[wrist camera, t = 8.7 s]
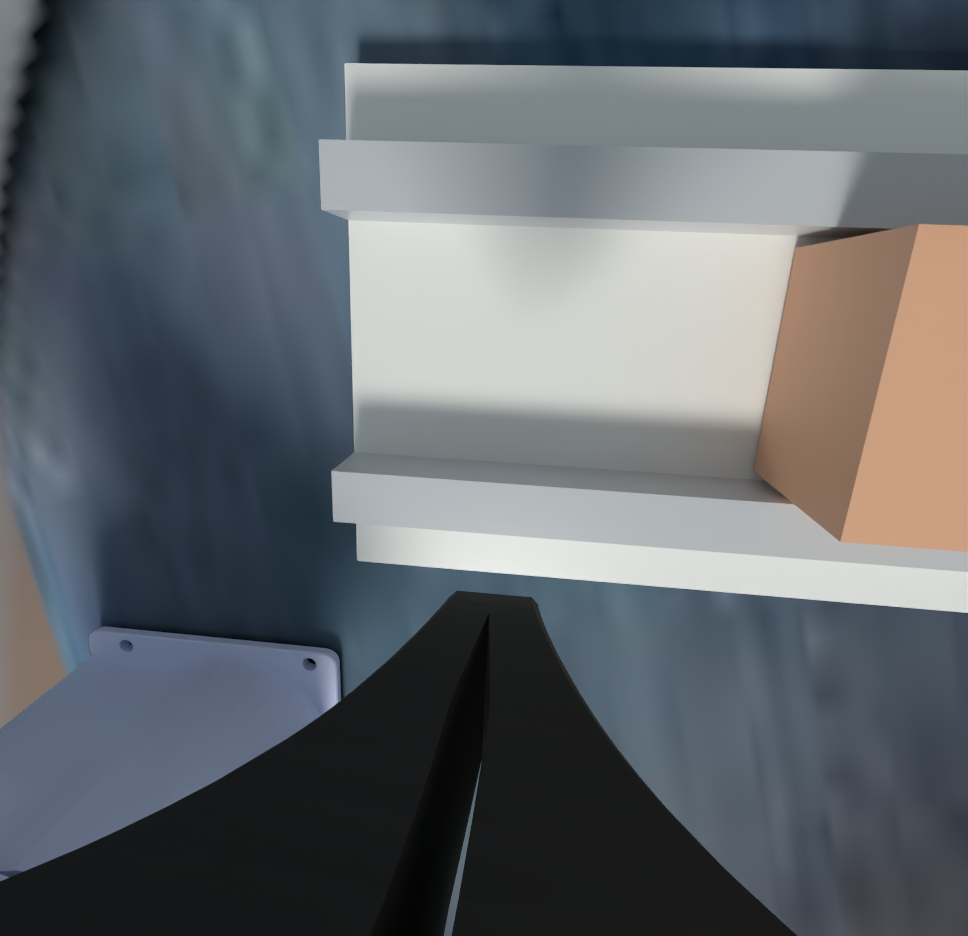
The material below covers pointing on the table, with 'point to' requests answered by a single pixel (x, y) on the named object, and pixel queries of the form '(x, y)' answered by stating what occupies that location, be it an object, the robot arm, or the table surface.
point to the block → (875, 389)
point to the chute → (613, 312)
